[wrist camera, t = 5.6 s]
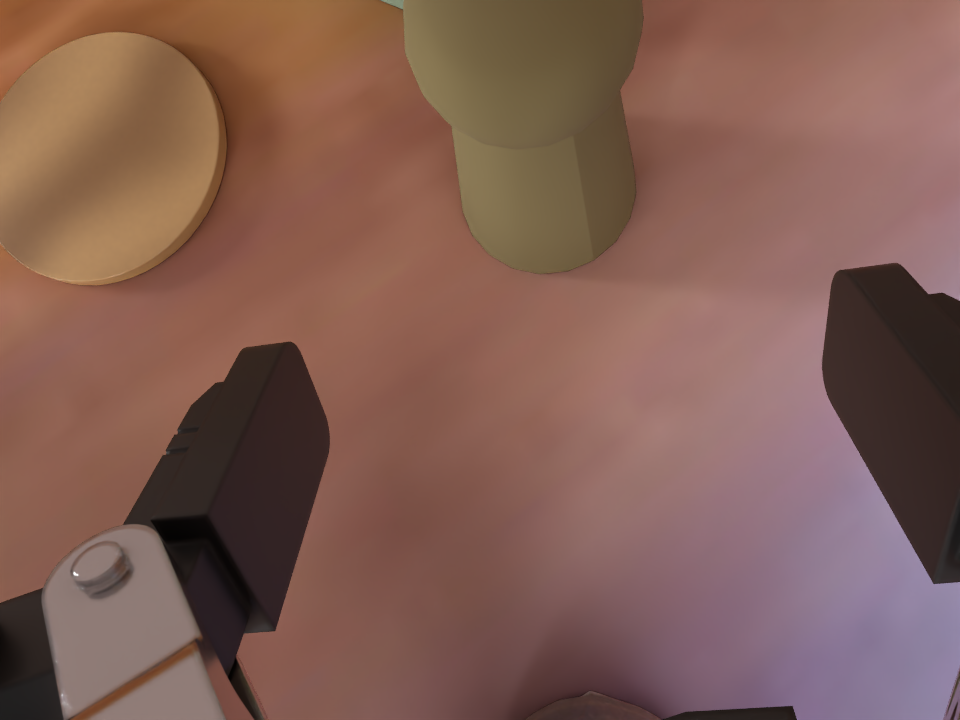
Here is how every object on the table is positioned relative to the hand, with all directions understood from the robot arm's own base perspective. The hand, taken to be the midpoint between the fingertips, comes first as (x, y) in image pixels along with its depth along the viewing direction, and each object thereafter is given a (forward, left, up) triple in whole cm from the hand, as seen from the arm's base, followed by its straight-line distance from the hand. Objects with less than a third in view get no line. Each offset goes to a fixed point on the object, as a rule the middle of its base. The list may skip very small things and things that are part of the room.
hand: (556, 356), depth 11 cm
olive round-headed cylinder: (-4, +7, -13) cm, 15 cm away
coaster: (-20, +1, -13) cm, 24 cm away
